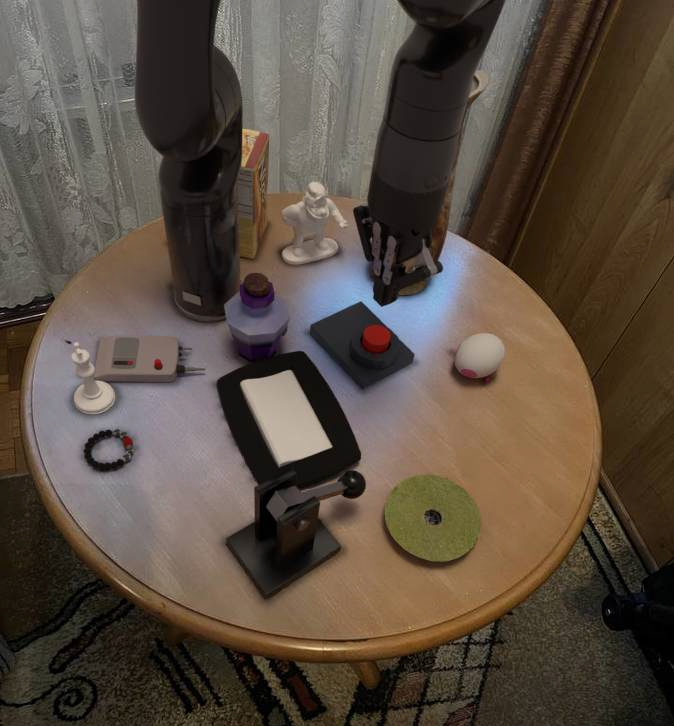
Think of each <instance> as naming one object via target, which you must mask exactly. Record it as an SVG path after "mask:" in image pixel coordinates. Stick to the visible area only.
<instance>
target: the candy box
mask: <svg viewBox="0 0 674 726" xmlns="http://www.w3.org/2000/svg"><path fill="white" fill-rule="evenodd" d="M269 159H270V134H269V133H266V132H262V131H258V130H253V129H248V128H243V129H242V163H241V169H240V174H239V178H238V185H237V193H238V194H237V196H238V224H239V253H240V257H242V258H245V259H251V260H254V259H255V257H256V254H257V251H258V249H259V247H260V244H261V241H262V240H263V239H262V238H263V236H264V233H265V230H266V228H267V226H268V198H269V197H268V195H269V194H268V193H269V164H270V163H269V161H270V160H269Z"/></svg>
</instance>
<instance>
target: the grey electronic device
mask: <svg viewBox="0 0 674 726" xmlns="http://www.w3.org/2000/svg"><path fill="white" fill-rule="evenodd" d="M192 350H193V347H183V346H181V345H179V340H178V338H177V337H176V336H173V335H171V336H170V335H165V336H164V335H120V334H119V335H117V334H116V335H115V334H113V335H108V336H105V337H101V338H100V339H99V342H98V348H97V354H96V360H95V365H94V368H95V370H94V373H93V378H94V380H95V381H103V382H134V383H135V382H137V383H139V382H144V383H146V382H147V383H149V382H150V383H154V382H155V383H157V382H159V383H162V382H163V383H173V382H174V381H175V380H176V379H177V377H178V374H184V373H185V372H196V371H199V372H201V371H203V372H204V371H205V372H206V368H205V367H195V366H194V367H193V366H188V367H187V366H185V365H182V364H180V358H181V357H184V356H185V357H186V356H188V355H189V354H188V353H183V352H182V351H192ZM180 351H181V352H180Z"/></svg>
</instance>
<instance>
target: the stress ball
mask: <svg viewBox="0 0 674 726" xmlns="http://www.w3.org/2000/svg"><path fill="white" fill-rule="evenodd" d="M490 332H491V331H489V332H481V333H476V334H473V335H470V336H469V337H467V338H466V339H464V341H462V342H461V343H460V344H459V346H458V347H457V349H456V351H455V352H454V351H452V353H454V365H455V367H456V369H457V371H458V372H459V373H460V374H461V375H463V376H464V377H467V378H471V379H479V378H480V379H481V378H484V377H485V383H488V382H490V380H491V378H489V377H488V376H489V375H491V374H492V373H494V372H495V371H497V370H498V368H500V366H501V365H502V363H503V362H504V358H505V354H506V348H505V344H504V342H503V341H502V339H500V337H498V336H496V335H495V334H493V333H490Z"/></svg>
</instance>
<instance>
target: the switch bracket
mask: <svg viewBox="0 0 674 726" xmlns="http://www.w3.org/2000/svg"><path fill="white" fill-rule="evenodd" d="M296 477H297V473H296V472H295V470H294V469H293V468H292V467H289V468H288V469H286V470H284V471H282V472H281V473H279V474H277V475H275V476H274V477H272V478H270V479H268V480H266V481H265V482H263V483H261V484H258V485H256V486H254V487H253V494H254V498H253V500H254V504H253V505H254V521H253V522H251V523H250V524H248V525H247V526H245V527H243V528H241V529H240V530H238V531H236V532H234V533H233V534H231V535H229V536H228V537H226V538H225V542H226V543H225V544H226V545H227V546H228V547H229V549H230V551H231V552H232V553H233V555H234V556H235V558H236V559H237V560H238V562H239V563H240V565H241V566H242V567H243V569H244V570H245V572H246V573H247V575H248V576H249V577H250V579H251V581H253V583H254V585H255V586H256V588H257V589H258V590H259V592H260V593H261V594H262V596H263V597H264V599H265V600H267V599H269V598H270V597H272V596H274V595H275V594H277V593H278V592H280V591H281V590H282V589H284V588H286V587H287V586H289V585H290V584H292V583H294V582H295V581H296V580H298V579H300V578H301V577H302V576H304V575H306V574H307V573H309V572H310V571H312V570H313V569H315V568H316V567H318V566H320V565H321V564H323V563H324V562H326V561H327V560H328V559H330V558H332V557H334V555H336V554H338V553H339V552H340V551H341V549H342V545H340V543H339V542H338V541H337V539H336V538H335V537H334V535H333V534H332V533H331V531H329V529H328V528H327V527H326V526H325V524H324V523H323V521H321V519H320V518H319V513H320V507H321V501H319V500H318V499H317V498H316V497H315V496H313V497H312V498H310V499H308V500H307V501H305V502H303V503H302V504H300V505H298V506H297V507H295V508H293V509H291V510H290V511H288V512H286V513H285V514H283V515H281V516H280V517H278V519H277V521H276V519H275V518H274V517H273V516H272V514H271V513H270V512H269V510H268V509H267V508H266V506H267V504H268V502H269V501H270V499H271V497H272V496H273V494H274V492H275V491H277V490H281V489H284V488H288V487H292V486H296Z"/></svg>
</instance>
